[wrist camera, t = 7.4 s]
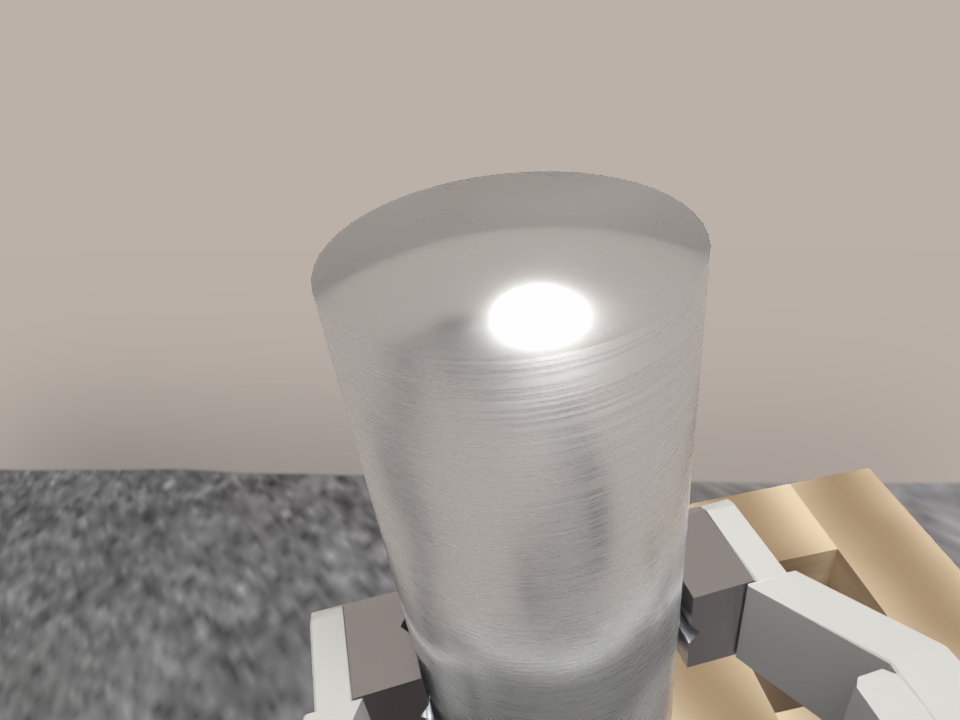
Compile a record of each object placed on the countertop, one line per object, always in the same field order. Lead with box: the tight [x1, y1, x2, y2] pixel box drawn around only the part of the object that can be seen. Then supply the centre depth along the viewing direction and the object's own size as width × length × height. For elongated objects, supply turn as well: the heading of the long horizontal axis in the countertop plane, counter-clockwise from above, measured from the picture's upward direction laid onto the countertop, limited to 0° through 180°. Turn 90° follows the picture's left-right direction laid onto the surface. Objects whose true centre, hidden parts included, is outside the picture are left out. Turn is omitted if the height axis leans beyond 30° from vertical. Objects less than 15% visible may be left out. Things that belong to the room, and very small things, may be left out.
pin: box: [311, 172, 711, 720], centre depth 12 cm, size 4×4×16 cm
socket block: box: [671, 468, 960, 720], centre depth 29 cm, size 14×14×5 cm
